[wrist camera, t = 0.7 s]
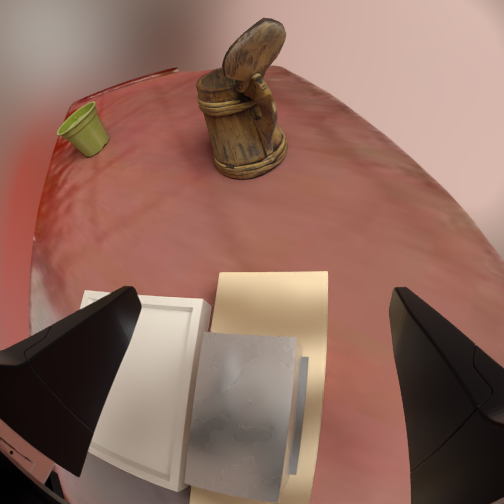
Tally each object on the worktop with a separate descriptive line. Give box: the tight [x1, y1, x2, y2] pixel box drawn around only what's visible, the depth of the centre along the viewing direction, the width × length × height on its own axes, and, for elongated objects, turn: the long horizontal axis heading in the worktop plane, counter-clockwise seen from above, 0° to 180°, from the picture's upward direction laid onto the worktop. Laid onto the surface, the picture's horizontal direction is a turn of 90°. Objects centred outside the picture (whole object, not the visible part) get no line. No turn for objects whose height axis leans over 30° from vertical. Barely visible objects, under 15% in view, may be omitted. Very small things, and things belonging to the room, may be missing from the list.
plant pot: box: [57, 102, 109, 157], centre depth 43 cm, size 9×9×9 cm
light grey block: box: [185, 332, 303, 503], centre depth 14 cm, size 9×5×4 cm, turn 174°
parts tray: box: [80, 290, 212, 492], centre depth 22 cm, size 17×15×2 cm
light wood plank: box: [190, 271, 328, 504], centre depth 17 cm, size 20×8×4 cm, turn 174°
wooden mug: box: [196, 18, 288, 179], centre depth 24 cm, size 9×14×18 cm, turn 38°
